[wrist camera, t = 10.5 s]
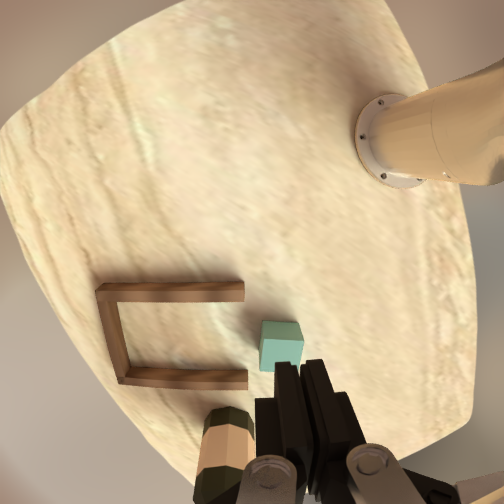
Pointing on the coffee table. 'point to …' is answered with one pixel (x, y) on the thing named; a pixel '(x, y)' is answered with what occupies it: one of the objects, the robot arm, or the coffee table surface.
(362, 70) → the coffee table surface
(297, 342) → the teal block
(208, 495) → the wine bottle
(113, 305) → the frame
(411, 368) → the coffee table surface
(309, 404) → the robot arm
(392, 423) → the coffee table surface
